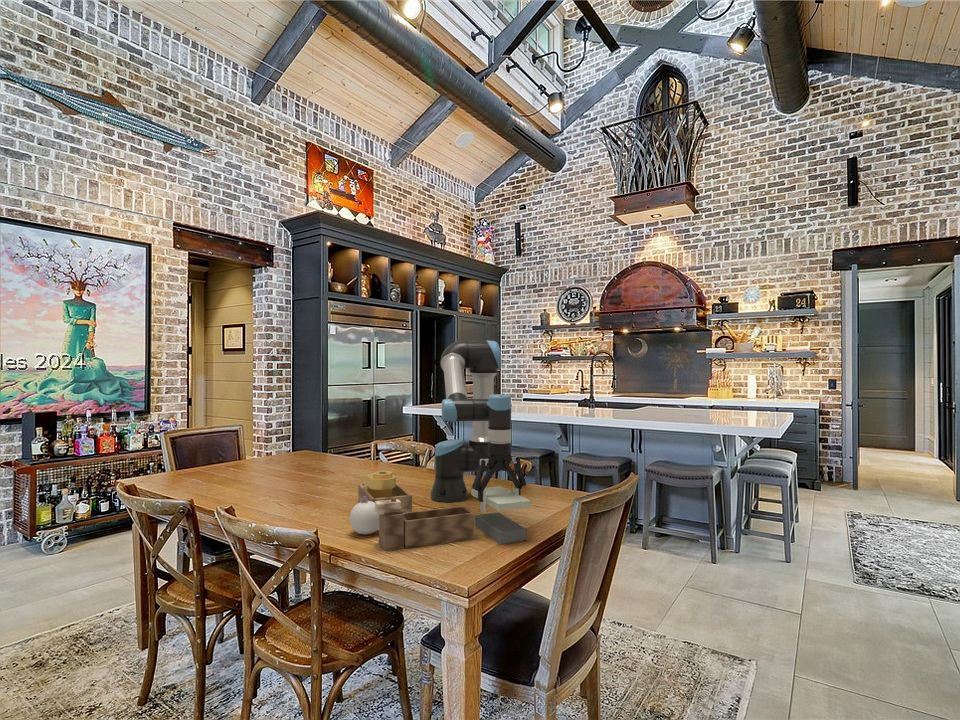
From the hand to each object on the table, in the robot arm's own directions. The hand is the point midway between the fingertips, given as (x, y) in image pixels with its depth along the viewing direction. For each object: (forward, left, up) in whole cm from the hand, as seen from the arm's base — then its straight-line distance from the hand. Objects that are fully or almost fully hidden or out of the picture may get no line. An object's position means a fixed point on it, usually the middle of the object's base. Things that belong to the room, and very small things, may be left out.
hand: (499, 509), depth 166 cm
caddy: (+30, -35, -7) cm, 47 cm away
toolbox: (+24, -2, -7) cm, 25 cm away
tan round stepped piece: (+31, -37, -8) cm, 49 cm away
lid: (0, 0, +3) cm, 3 cm away
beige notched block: (+36, -2, +3) cm, 36 cm away
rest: (0, 0, -7) cm, 7 cm away
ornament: (+40, -16, -8) cm, 44 cm away
